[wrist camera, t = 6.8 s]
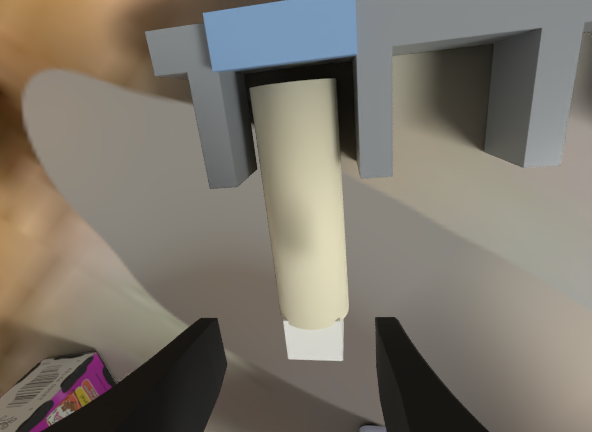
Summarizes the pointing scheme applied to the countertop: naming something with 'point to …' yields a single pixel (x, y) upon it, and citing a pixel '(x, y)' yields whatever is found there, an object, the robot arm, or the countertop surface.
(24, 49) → the countertop surface
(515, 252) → the countertop surface
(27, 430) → the candy bar box
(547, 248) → the countertop surface
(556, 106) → the grey comb rack
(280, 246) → the cream cylinder column
